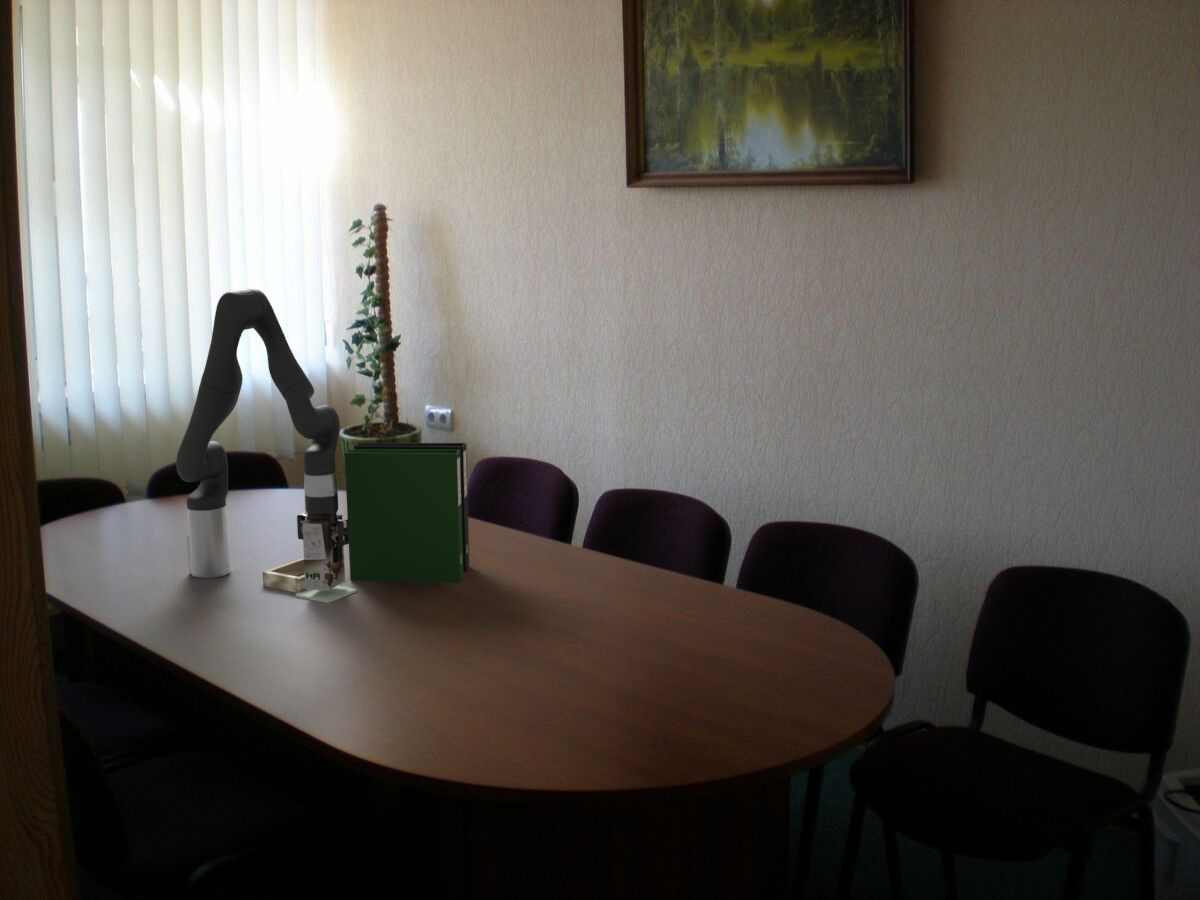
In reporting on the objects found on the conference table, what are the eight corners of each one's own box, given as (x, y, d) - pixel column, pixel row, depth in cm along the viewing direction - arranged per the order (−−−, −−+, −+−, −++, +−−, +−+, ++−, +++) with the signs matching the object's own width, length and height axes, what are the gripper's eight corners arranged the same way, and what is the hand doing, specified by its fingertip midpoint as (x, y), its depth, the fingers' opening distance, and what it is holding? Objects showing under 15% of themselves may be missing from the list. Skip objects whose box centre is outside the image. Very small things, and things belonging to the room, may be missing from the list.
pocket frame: (263, 585, 286) (262, 572, 285) (306, 570, 298) (305, 557, 298) (299, 593, 280) (299, 578, 279) (342, 576, 293) (341, 563, 292)
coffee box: (330, 591, 274) (327, 523, 271) (304, 589, 275) (300, 522, 272) (346, 579, 282) (343, 514, 279) (321, 578, 284) (318, 513, 281)
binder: (349, 581, 289) (343, 453, 283) (364, 564, 303) (359, 441, 297) (460, 583, 287) (456, 453, 281) (469, 565, 302) (466, 442, 296)
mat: (295, 596, 277) (295, 594, 277) (324, 585, 286) (324, 583, 286) (328, 603, 272) (327, 600, 272) (356, 591, 281) (356, 589, 281)
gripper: (286, 491, 275) (290, 559, 278) (333, 498, 268) (336, 568, 271) (309, 485, 281) (312, 552, 284) (355, 492, 274) (358, 560, 277)
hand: (324, 559), depth 277 cm, fingers closed on coffee box, 7 cm apart
